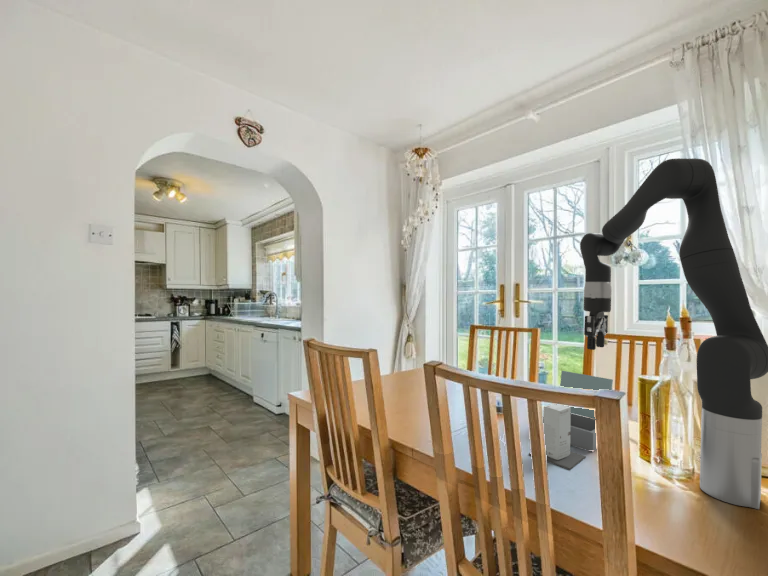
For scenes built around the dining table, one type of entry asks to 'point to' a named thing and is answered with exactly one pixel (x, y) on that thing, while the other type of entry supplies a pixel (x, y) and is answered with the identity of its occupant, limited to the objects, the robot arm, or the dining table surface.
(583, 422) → the grey open box
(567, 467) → the rubber mat
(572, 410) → the lid
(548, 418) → the skincare box
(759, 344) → the robot arm
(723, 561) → the dining table surface
